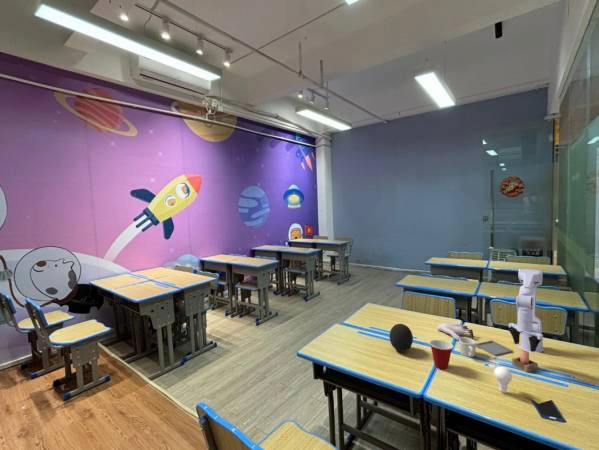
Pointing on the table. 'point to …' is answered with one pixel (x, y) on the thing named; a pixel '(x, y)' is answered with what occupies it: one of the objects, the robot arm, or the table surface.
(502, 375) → the lightbulb
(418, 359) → the table surface
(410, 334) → the decorative egg
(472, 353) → the cup
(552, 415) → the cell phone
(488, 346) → the tray
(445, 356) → the plastic cup
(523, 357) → the pink rounded capsule
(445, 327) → the yeti figurine
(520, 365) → the holder
